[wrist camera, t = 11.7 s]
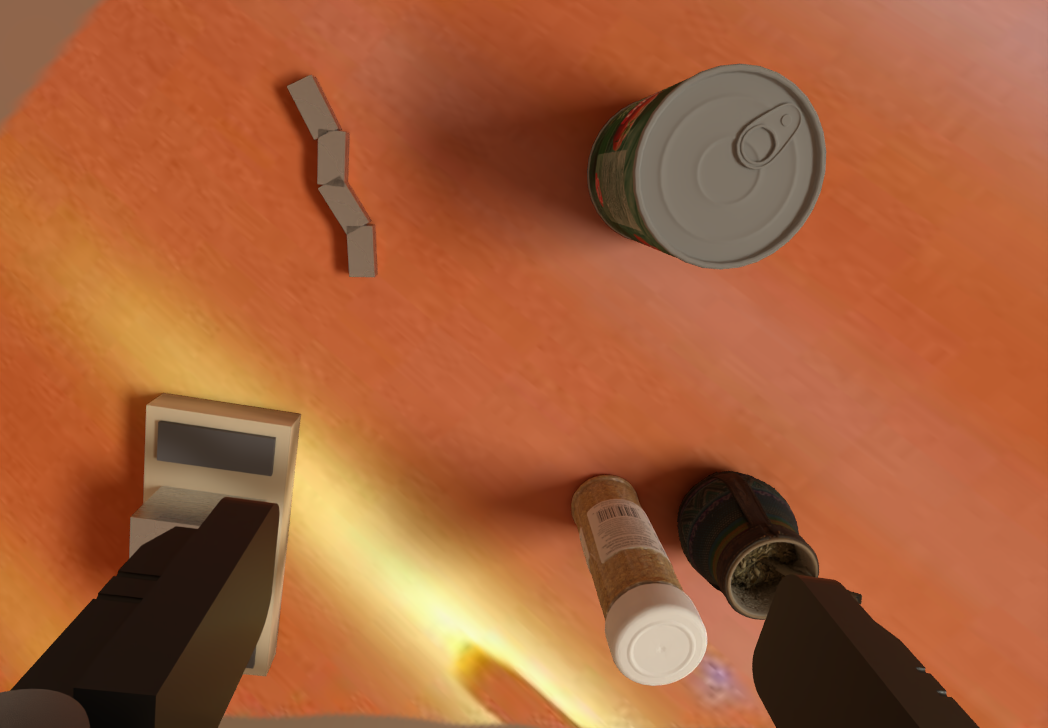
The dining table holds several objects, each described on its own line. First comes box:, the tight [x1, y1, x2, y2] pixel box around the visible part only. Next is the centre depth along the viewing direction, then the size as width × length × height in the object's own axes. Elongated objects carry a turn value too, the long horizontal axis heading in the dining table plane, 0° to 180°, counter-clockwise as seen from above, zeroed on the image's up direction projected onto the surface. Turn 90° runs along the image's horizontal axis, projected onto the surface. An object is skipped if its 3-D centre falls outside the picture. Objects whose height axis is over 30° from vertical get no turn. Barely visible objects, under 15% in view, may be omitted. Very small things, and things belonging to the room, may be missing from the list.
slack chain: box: [287, 75, 377, 277], centre depth 34 cm, size 11×2×1 cm, turn 12°
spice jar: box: [571, 475, 707, 686], centre depth 35 cm, size 5×5×13 cm
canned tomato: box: [587, 64, 826, 269], centre depth 30 cm, size 8×8×11 cm
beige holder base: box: [143, 393, 301, 676], centre depth 36 cm, size 18×8×8 cm, turn 169°
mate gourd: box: [677, 471, 862, 620], centre depth 37 cm, size 7×8×10 cm
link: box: [129, 486, 267, 558], centre depth 36 cm, size 8×6×4 cm
